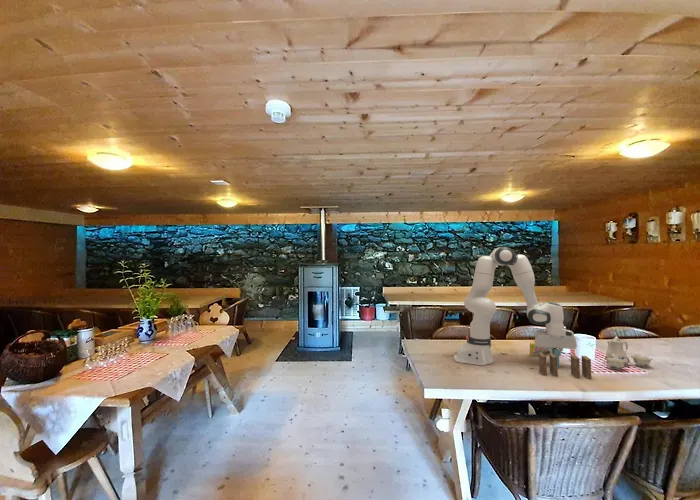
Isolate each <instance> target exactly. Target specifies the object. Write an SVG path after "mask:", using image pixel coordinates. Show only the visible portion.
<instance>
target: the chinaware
mask: <svg viewBox="0 0 700 500" xmlns="http://www.w3.org/2000/svg"><path fill="white" fill-rule="evenodd" d="M606 342H607V348H606V353H605V358H604V359H605V360H604V362H603V365H604V366H605V367H608V368H609V369H612V370H614V369H615V370H614V371H620V370H621V369H623V368H624V367H628V364H629V363H630V361H631V360H630V358H629V357H628V356H627V351H628V348H629V346H628V343H627V342H626V341H624V340H621V339H620V338H619V337H618V336H617V335H615V336H614V338H612V339H609V341H606ZM624 344H625V349H624ZM630 357H631V358H632V360H633V362H634V363H635V364H636V365H637V367H639V368H643V369H646V367H649V365H650V364H651V361H652V360H653V358H650V357H649V356H645V355H642V356H640V355H638V354H634V355H631V356H630ZM606 363H608V365H606Z"/></svg>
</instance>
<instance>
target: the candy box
mask: <svg viewBox="0 0 700 500" xmlns="http://www.w3.org/2000/svg"><path fill="white" fill-rule="evenodd" d="M550 350H551V351H552V349H550ZM539 353H543V354H544V355H545V356H549V354H550V351H549V350H548V347H537V346H536V345H535V342H530V343H529V357H531V358H532V357H533V358H534V357H539Z"/></svg>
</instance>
